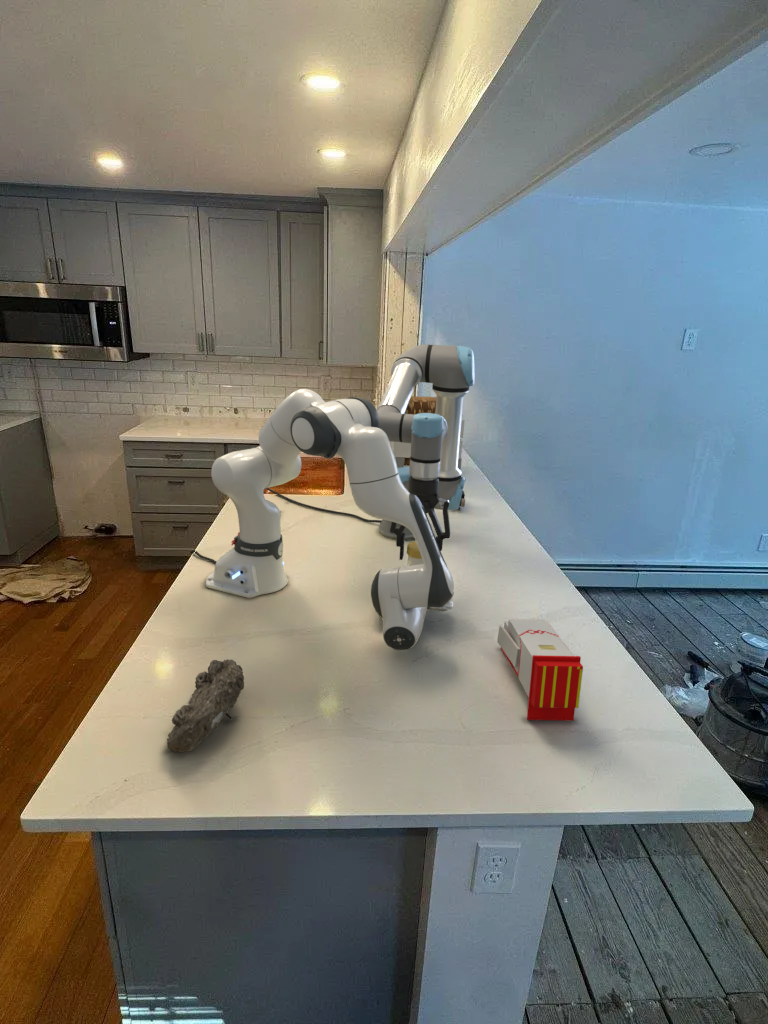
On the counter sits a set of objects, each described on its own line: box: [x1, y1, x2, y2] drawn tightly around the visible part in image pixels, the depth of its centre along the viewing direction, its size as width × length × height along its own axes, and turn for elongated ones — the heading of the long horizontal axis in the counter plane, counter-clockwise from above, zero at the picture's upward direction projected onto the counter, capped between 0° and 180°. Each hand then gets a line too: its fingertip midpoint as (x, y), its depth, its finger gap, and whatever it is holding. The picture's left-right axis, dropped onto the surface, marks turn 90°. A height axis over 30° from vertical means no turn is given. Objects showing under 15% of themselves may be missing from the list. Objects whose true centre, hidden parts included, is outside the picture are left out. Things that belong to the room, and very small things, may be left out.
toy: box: [497, 618, 584, 722], centre depth 122 cm, size 12×13×30 cm
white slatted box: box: [390, 395, 465, 471], centre depth 268 cm, size 34×33×41 cm
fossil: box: [166, 658, 245, 754], centre depth 106 cm, size 22×10×15 cm
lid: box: [406, 540, 422, 559], centre depth 148 cm, size 6×6×2 cm
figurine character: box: [457, 490, 466, 511], centre depth 229 cm, size 7×8×15 cm
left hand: (417, 580), depth 152 cm, fingers closed on jar, 5 cm apart
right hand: (418, 559), depth 149 cm, fingers open, 8 cm apart
